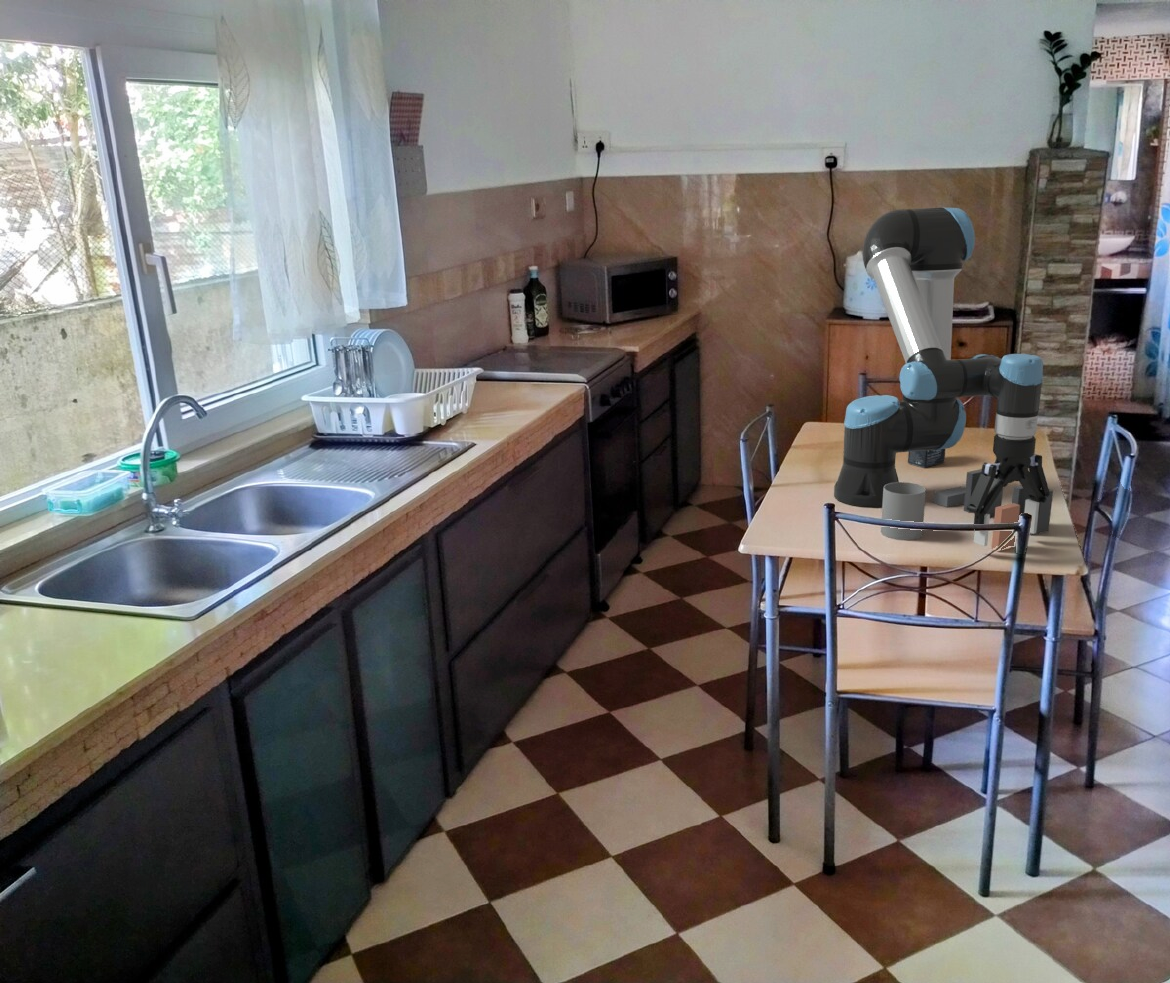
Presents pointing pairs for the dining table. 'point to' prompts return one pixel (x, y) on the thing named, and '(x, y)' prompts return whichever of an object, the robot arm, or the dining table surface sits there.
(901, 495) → the cup
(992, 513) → the domino
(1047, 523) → the domino
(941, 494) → the block
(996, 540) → the domino
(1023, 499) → the domino
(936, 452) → the box
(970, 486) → the domino
